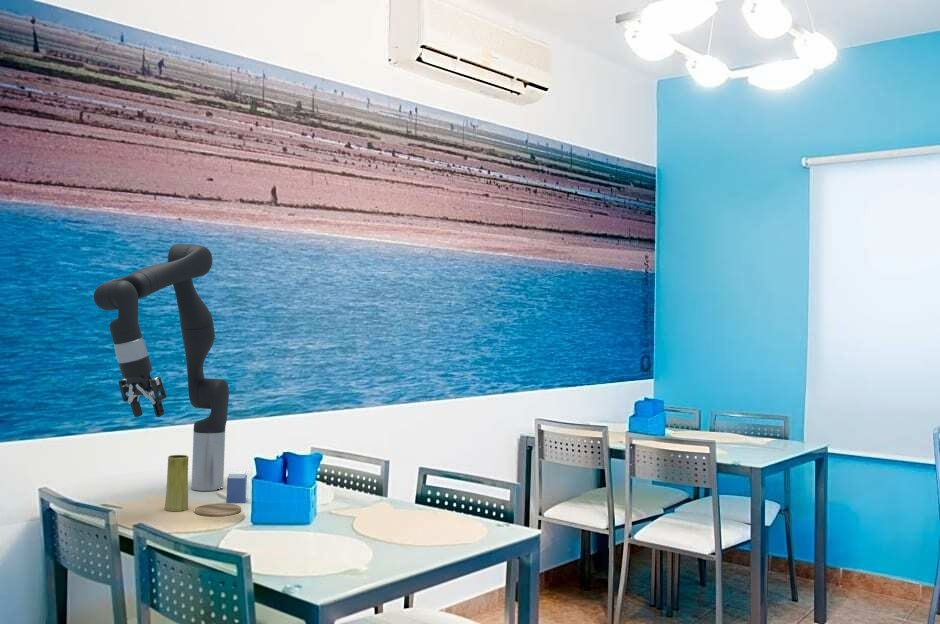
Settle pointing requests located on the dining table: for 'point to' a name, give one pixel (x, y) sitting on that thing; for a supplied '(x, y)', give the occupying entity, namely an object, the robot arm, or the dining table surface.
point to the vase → (177, 483)
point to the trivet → (217, 509)
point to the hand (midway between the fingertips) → (149, 416)
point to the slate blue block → (236, 487)
